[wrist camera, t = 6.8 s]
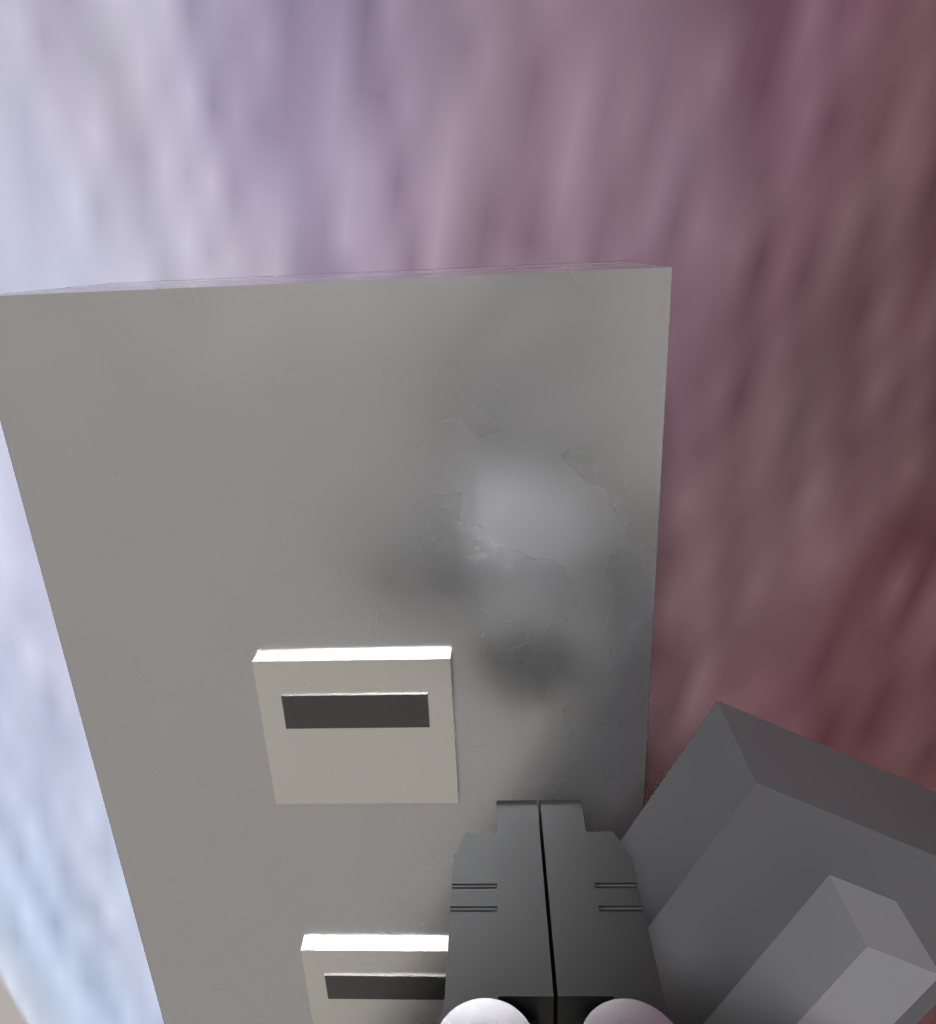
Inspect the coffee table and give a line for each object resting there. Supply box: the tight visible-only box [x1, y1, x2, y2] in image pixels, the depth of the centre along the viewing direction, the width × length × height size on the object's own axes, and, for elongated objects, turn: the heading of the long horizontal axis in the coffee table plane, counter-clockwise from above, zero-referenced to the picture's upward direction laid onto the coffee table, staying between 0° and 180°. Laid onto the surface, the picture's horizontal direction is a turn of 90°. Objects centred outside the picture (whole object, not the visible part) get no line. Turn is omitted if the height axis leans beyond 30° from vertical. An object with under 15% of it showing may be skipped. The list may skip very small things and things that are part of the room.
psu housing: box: [0, 261, 672, 1024], centre depth 18 cm, size 12×28×7 cm, turn 2°
